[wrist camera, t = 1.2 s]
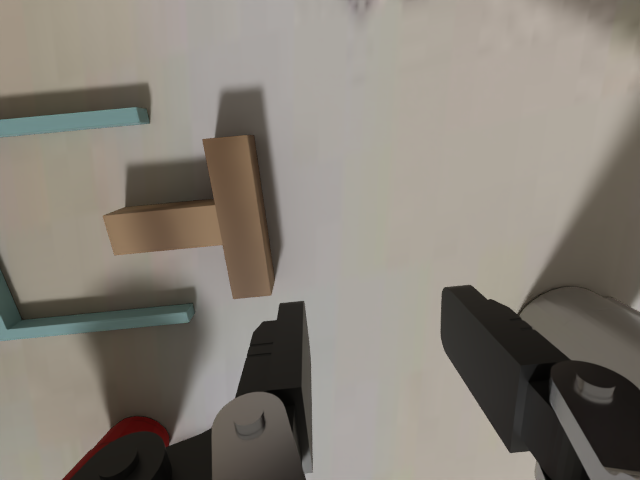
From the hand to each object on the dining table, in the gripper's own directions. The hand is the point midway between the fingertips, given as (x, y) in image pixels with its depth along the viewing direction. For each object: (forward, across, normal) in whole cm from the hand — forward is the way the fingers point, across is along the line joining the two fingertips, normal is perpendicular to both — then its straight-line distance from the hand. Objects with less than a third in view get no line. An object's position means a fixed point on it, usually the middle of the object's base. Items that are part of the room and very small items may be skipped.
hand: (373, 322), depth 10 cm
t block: (+17, +11, 0) cm, 21 cm away
